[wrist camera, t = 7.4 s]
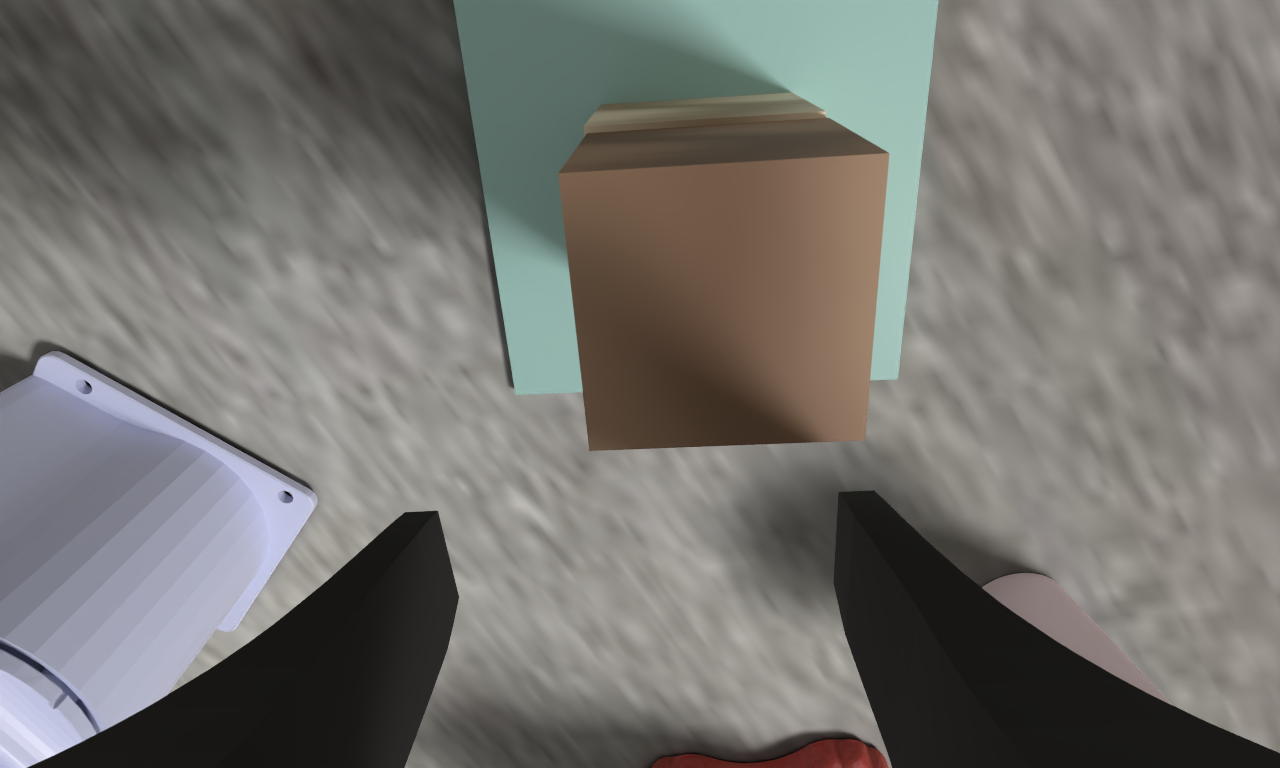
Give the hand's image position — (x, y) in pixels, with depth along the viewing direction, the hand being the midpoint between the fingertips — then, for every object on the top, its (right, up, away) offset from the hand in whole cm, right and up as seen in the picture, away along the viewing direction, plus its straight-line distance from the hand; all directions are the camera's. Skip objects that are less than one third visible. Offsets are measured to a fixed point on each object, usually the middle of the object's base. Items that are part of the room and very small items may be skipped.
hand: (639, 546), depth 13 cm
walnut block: (+2, +6, +3) cm, 7 cm away
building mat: (+2, +8, +7) cm, 11 cm away
